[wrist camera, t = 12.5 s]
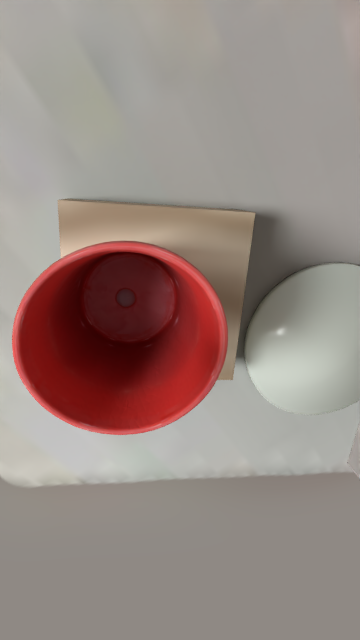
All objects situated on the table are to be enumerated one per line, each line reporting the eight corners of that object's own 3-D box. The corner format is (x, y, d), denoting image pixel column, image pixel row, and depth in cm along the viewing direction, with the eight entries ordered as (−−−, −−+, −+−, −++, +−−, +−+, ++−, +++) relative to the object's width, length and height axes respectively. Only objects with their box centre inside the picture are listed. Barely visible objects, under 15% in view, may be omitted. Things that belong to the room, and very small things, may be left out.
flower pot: (34, 240, 24) (-28, 269, 15) (186, 210, 25) (214, 222, 16) (77, 370, 28) (48, 455, 19) (208, 342, 28) (240, 412, 19)
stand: (68, 198, 27) (57, 199, 23) (240, 210, 29) (255, 212, 25) (75, 357, 32) (67, 379, 28) (222, 358, 34) (232, 379, 30)
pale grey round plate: (256, 258, 31) (260, 260, 30) (418, 266, 33) (426, 268, 32) (234, 410, 36) (237, 416, 35) (374, 408, 38) (380, 414, 37)
